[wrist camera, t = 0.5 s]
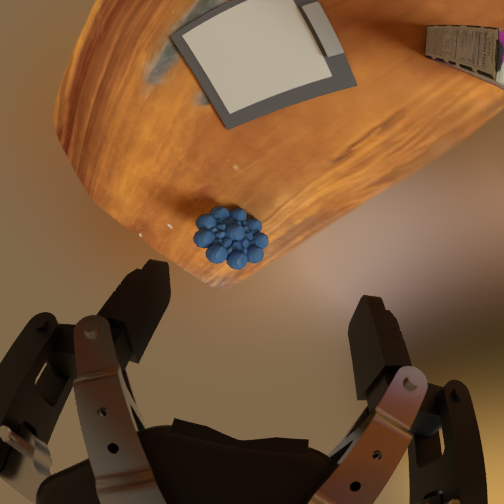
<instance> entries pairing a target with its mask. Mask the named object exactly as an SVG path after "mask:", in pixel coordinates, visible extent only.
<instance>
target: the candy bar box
mask: <svg viewBox="0 0 504 504" xmlns="http://www.w3.org/2000/svg"><path fill="white" fill-rule="evenodd" d="M425 57H426V58H429V59H432V60H435V61H437V62H440V63H443V64H446V65H448V66H451V67H453V68H456V69H458V70H461V71H463V72H466V73H468V74H470V75H473V76H475V77H477V78H480V79H482V80H484V81H486V82H488V83H490V84H493V85H495V86H497V87H499V88H501V89H503V90H504V31H503V30H501V29H500V28H492V27H481V26H469V25H430V26H427V29H426V49H425Z"/></svg>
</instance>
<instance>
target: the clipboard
mask: <svg viewBox="0 0 504 504" xmlns="http://www.w3.org/2000/svg"><path fill="white" fill-rule="evenodd" d="M170 37H171V38H172V40H173V41H174V43H175V45H176V46H177V48H178V49H179V51H180V52H181V54H182V55H183V57H184V59H185V60H186V62H187V63H188V65H189V67H190V68H191V70H192V71H193V73H194V75H195V76H196V78H197V79H198V81H199V83H200V84H201V86H202V88H203V89H204V91H205V93H206V94H207V96H208V97H209V99H210V101H211V102H212V104H213V106H214V108H215V109H216V111H217V113H218V114H219V116H220V118H221V119H222V121H223V123H224V124H225V126H226V128H227V130H229V129H231V128H234V127H236V126H238V125H241V124H243V123H246V122H248V121H251V120H253V119H255V118H258V117H261V116H263V115H266V114H268V113H271V112H274V111H276V110H279V109H282V108H285V107H288V106H290V105H293V104H296V103H299V102H302V101H305V100H308V99H312V98H315V97H318V96H321V95H325V94H328V93H331V92H335V91H339V90H342V89H346V88H350V87H354V86H357V83H356V81H355V78H354V76H353V73H352V71H351V68H350V66H349V64H348V61H347V59H346V57H345V54H344V51H343V48H342V46H341V44H340V42H339V40H338V38H337V36H336V34H335V32H334V30H333V28H332V26H331V24H330V22H329V20H328V18H327V16H326V14H325V12H324V11H323V9H322V7H321V5H320V4H319V2H318V1H317V0H231V1H229V2H227V3H225V4H223V5H221V6H219V7H217V8H216V9H214V10H212V11H210V12H208V13H206V14H205V15H203V16H201V17H199V18H198V19H196V20H194V21H193V22H191V23H190V24H188V25H186V26H185V27H183V28H182V29H180V30H179V31H177V32H176V33H174V34H173V35H171V36H170Z"/></svg>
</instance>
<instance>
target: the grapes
mask: <svg viewBox="0 0 504 504" xmlns="http://www.w3.org/2000/svg"><path fill="white" fill-rule="evenodd" d="M246 219H247V213H246V212H245V211H244V210H243V209H240V208H236V209H233V210H231V211H230V212H229V211H228V209H227V208H225V207H223V206H218V207H215V208H213V209H212V210H211V212H210V214H203V215H200V216H199V217H198V218H197V220H196V226H197V228H198V229H199V231H197V232H196V233H195V235H194V237H193V239H194V242H195V244H196V245H197V246H198V247H201V248H208V247H209V248H208V249H207V251H206V257H207V258H208V260H209V261H210V262H213V263H216V264H217V263H222V262H223V261H225V260H227V264H228V265H229V266H230V267H231V268H233V269H242V268H243V267H245V266H246V264H247V261H248V262H250V263H258V262H259V261H261V260H262V258H263V255H264V254H263V250H262V249H264V248H265V247H267V245H268V237H267V235H265V234H264V233H261V232H260V231H261V229H262V224H261V222H260V221H259V220H258V219H255V218H251V219H248V220H247V221H246Z"/></svg>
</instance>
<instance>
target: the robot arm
mask: <svg viewBox="0 0 504 504" xmlns="http://www.w3.org/2000/svg"><path fill="white" fill-rule="evenodd" d="M170 296H171V289H170V276H169V265H168V263H167V262H163V261H158V260H152V259H150V260H148V261H147V263H146V264H145V265H144V267H143V268H142V269H136V270H134V271H132V272H131V273H129V274H128V275H127V276H126V277H125V278H124V279H123V281H122V282H121V284H120V285H119V286H118V287H117V289H116V291H114V292H113V294H112V295H111V296H110V298H109V299H108V300H107V301H106V303H105V304H104V306H103V307H102V308H101V310H100V311H99V312H98V314H97V315H90V316H86V317H84V318H82V319H81V320H80V321H79V322H78V323H77V324H76V325H70V324H58V322H57V320H56V318H55V316H54V315H53V314H51V313H48V312H43V313H39V314H37V315H35V316H34V317H33V318H32V319H31V320H30V321H29V322H28V323H27V325H26V326H25V328H24V329H23V330H22V332H21V333H20V335H19V336H18V337H17V339H16V340H15V342H14V343H13V345H12V346H11V348H10V349H9V351H8V352H7V354H6V355H5V357H4V358H3V360H2V362H1V363H0V478H2V479H3V480H4V481H5V482H7V483H8V484H9V485H10V486H12V487H13V488H14V489H15V490H17V491H18V492H19V493H21V494H22V495H23V496H25V497H26V498H27V499H29V500H30V501H32V502H33V503H35V504H373V503H374V501H375V500H376V498H377V497H378V496H379V494H380V493H381V491H382V490H383V488H384V487H385V485H386V484H387V482H388V480H389V479H390V477H391V475H392V474H393V472H394V471H395V469H396V467H397V465H398V464H399V462H400V460H401V458H402V457H403V455H404V453H405V451H406V449H407V447H408V455H409V479H410V504H488V500H487V482H486V472H485V464H484V457H483V450H482V444H481V439H480V434H479V429H478V424H477V420H476V416H475V411H474V408H473V404H472V400H471V396H470V393H469V391H468V389H467V387H466V386H465V385H464V384H463V383H462V382H460V381H458V380H451V381H449V382H448V383H447V384H446V385H445V386H444V387H440V386H437V385H433V384H430V383H427V379H426V377H425V375H424V374H423V373H422V372H421V371H420V370H419V369H417V368H415V367H412V364H411V361H410V357H409V354H408V351H407V348H406V345H405V342H404V339H403V336H402V333H401V331H400V328H399V324H398V322H397V319H396V318H395V317H394V316H393V314H392V313H391V312H390V311H389V310H385V306H384V304H383V301H382V299H381V297H375V296H368V295H363V296H362V297H361V299H360V301H359V304H358V306H357V308H356V310H355V312H354V315H353V317H352V319H351V321H350V324H349V329H348V337H349V343H350V350H351V356H352V363H353V370H354V377H355V385H356V393H357V399H358V400H367V403H368V406H367V407H366V408H365V409H364V411H363V412H362V414H361V415H360V416H359V418H358V419H357V421H356V422H355V423H354V425H353V426H352V427H351V429H350V430H349V431H348V433H347V434H346V435H345V437H344V438H343V439H342V440H341V442H340V443H339V444H338V445H337V446H336V447H335V448H334V449H333V450H332V451H331V452H330V453H329V454H328V455H325V454H323V453H322V452H320V451H318V450H315V449H313V448H309V447H308V441H309V440H306V439H290V438H277V437H275V438H266V439H256V440H243V441H242V440H237V439H235V438H232V437H230V436H227V435H225V434H222V433H220V432H218V431H216V430H214V429H212V428H209V427H207V426H203V425H199V424H195V423H191V422H187V421H183V420H179V419H176V418H174V421H173V424H172V425H161V426H154V427H150V428H147V427H146V424H145V422H144V419H143V417H142V415H141V413H140V410H139V408H138V405H137V402H136V400H135V396H134V393H133V390H132V387H131V383H130V380H129V377H128V373H127V370H126V366H127V364H128V362H129V361H132V362H135V363H139V361H140V359H141V357H142V355H143V353H144V351H145V349H146V347H147V345H148V343H149V341H150V339H151V337H152V335H153V333H154V331H155V329H156V328H157V326H158V324H159V322H160V320H161V318H162V316H163V314H164V312H165V310H166V308H167V306H168V304H169V301H170ZM45 362H46V364H47V365H46V367H45V368H44V370H43V372H42V374H41V376H40V378H39V379H38V381H37V383H36V385H35V380H36V377H37V376H38V374H39V373H40V371H41V369H42V367H43V365H44V364H45ZM72 387H74V393H75V400H76V405H77V411H78V416H79V420H80V425H81V430H82V434H83V438H84V442H85V446H86V449H87V453H88V457H89V458H88V459H86V460H84V461H82V462H80V463H78V464H76V465H73V466H71V467H69V468H67V469H64V470H62V471H60V472H58V473H55V474H53V475H51V474H50V470H49V467H51V465H52V459H51V457H50V451H49V449H48V447H47V444H48V442H49V439H50V437H51V434H52V432H53V429H54V427H55V425H56V422H57V420H58V418H59V415H60V413H61V411H62V409H63V407H64V404H65V402H66V400H67V398H68V396H69V394H70V392H71V389H72ZM441 428H442V431H443V438H444V445H445V449H444V453H443V455H442V452H441V444H440V437H439V429H441Z"/></svg>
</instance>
